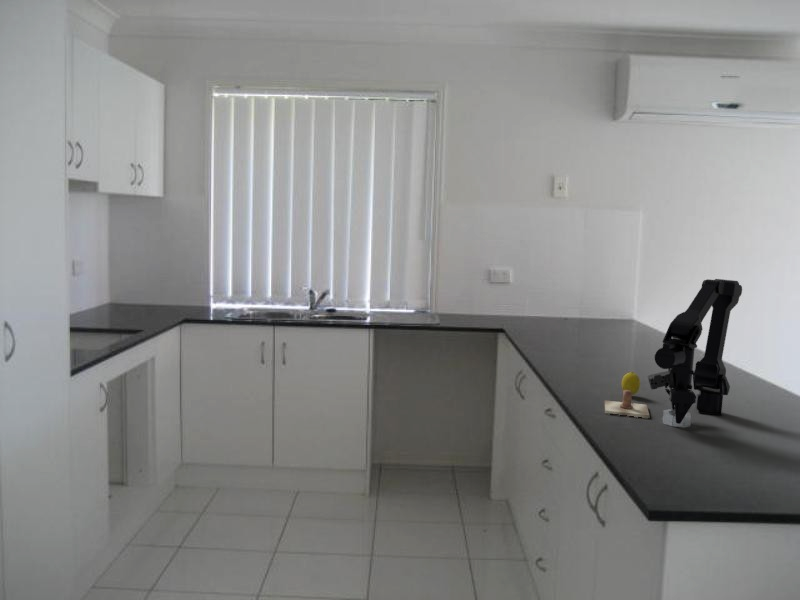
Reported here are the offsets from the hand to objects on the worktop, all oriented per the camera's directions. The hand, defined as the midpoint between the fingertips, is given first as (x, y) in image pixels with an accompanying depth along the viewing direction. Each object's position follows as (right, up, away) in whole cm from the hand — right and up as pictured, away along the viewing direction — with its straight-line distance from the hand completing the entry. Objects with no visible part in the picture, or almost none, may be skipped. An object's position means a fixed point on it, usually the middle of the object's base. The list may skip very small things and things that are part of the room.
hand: (676, 419), depth 200 cm
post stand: (-11, +1, +11) cm, 15 cm away
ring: (0, -1, 0) cm, 1 cm away
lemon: (-4, +2, +29) cm, 29 cm away
